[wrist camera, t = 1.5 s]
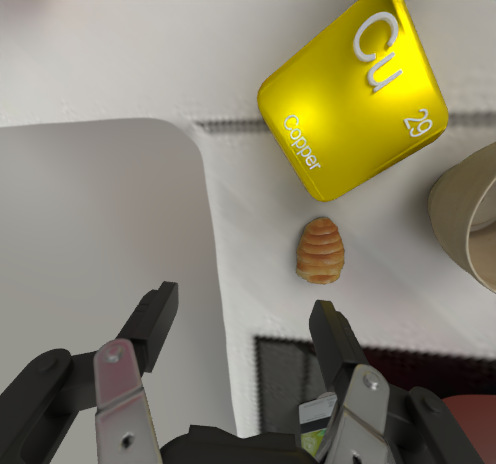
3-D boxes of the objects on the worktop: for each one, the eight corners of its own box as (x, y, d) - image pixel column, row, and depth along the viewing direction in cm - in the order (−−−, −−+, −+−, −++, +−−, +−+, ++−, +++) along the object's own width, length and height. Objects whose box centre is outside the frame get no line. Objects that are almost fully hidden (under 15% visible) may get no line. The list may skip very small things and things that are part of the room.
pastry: (295, 216, 30) (298, 224, 27) (344, 214, 29) (354, 223, 26) (295, 273, 33) (297, 287, 30) (339, 273, 32) (347, 288, 29)
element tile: (252, 102, 26) (248, 91, 22) (371, 3, 22) (397, -37, 17) (313, 202, 29) (320, 210, 25) (428, 132, 25) (461, 127, 20)
